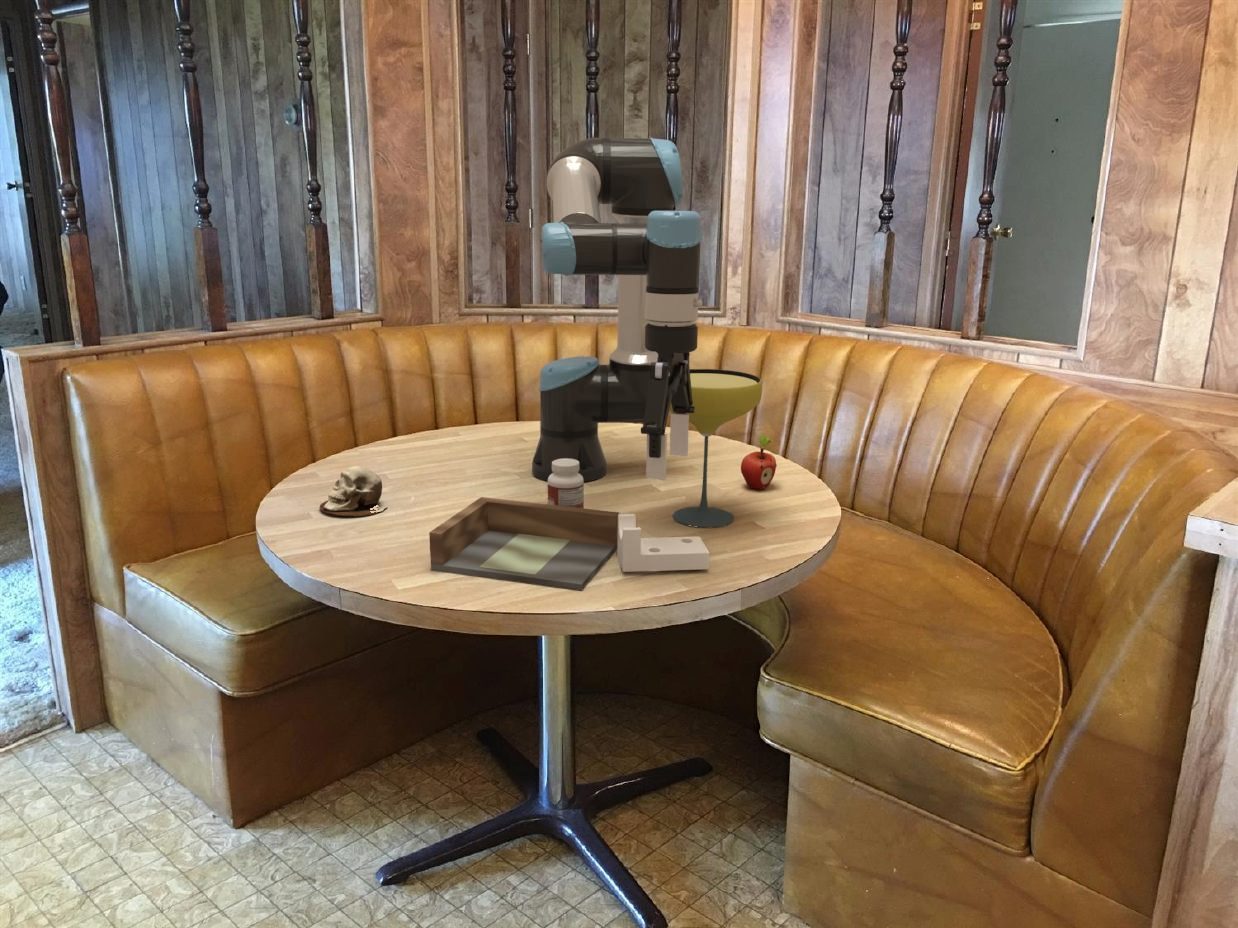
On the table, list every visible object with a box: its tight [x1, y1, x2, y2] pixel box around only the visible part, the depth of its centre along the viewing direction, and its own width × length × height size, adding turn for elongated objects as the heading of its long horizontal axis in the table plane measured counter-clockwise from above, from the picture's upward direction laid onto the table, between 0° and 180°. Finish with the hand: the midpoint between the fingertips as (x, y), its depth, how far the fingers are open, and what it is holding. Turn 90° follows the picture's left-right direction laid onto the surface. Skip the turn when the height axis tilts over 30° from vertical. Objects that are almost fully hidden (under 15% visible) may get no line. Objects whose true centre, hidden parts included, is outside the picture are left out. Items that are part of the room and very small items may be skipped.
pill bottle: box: [547, 458, 585, 509], centre depth 159 cm, size 6×6×11 cm
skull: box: [319, 465, 383, 517], centre depth 167 cm, size 12×10×10 cm
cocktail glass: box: [669, 368, 763, 528], centre depth 161 cm, size 18×18×25 cm
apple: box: [740, 434, 778, 490], centre depth 181 cm, size 8×7×10 cm
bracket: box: [616, 513, 710, 573], centre depth 142 cm, size 13×7×8 cm, turn 97°
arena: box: [428, 496, 620, 592], centre depth 144 cm, size 18×24×6 cm
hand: (667, 466), depth 138 cm, fingers open, 13 cm apart
